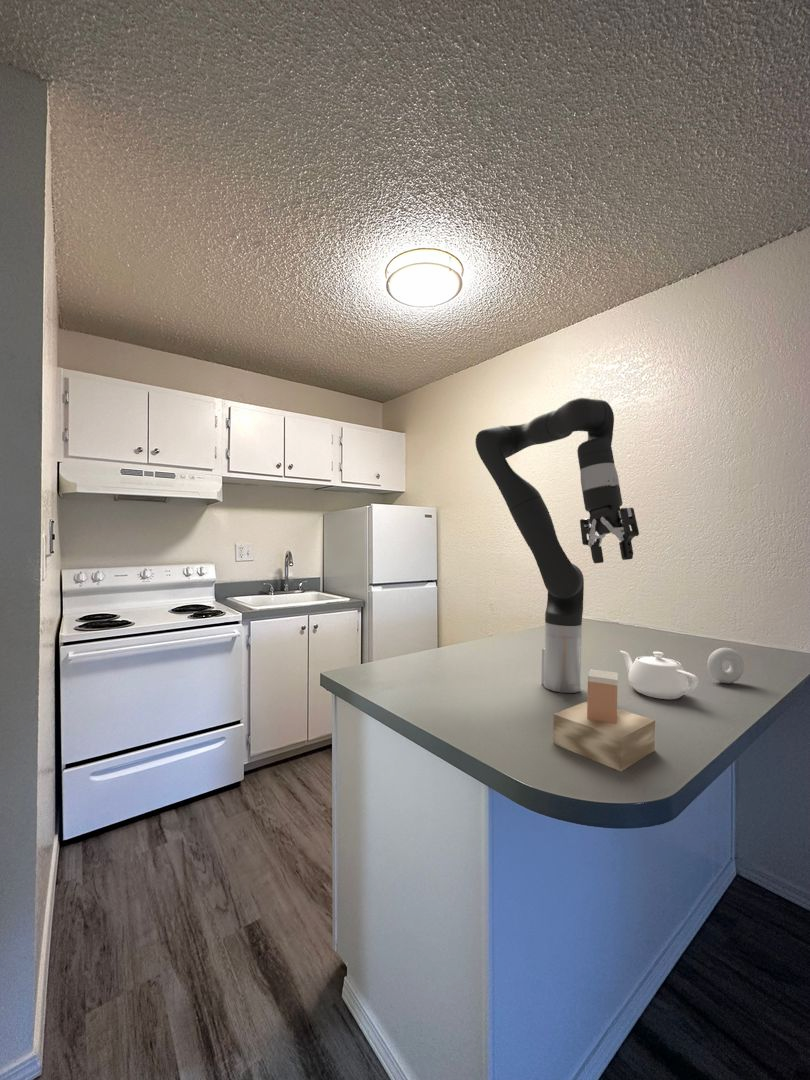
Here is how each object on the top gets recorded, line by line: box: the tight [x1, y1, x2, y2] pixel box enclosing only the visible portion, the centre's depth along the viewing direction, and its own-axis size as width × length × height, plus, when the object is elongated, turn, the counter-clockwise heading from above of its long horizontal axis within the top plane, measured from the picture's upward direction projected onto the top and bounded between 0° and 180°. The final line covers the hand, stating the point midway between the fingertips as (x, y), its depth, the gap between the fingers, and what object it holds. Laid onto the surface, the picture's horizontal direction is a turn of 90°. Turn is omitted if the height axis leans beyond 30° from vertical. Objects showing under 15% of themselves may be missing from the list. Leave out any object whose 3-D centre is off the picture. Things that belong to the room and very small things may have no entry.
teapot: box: [619, 650, 699, 700], centre depth 118 cm, size 22×14×11 cm, turn 24°
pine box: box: [552, 700, 656, 772], centre depth 85 cm, size 13×13×6 cm
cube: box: [587, 668, 619, 724], centre depth 85 cm, size 5×5×8 cm
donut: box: [706, 647, 746, 684], centre depth 127 cm, size 10×4×10 cm, turn 92°
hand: (612, 561), depth 96 cm, fingers open, 8 cm apart
